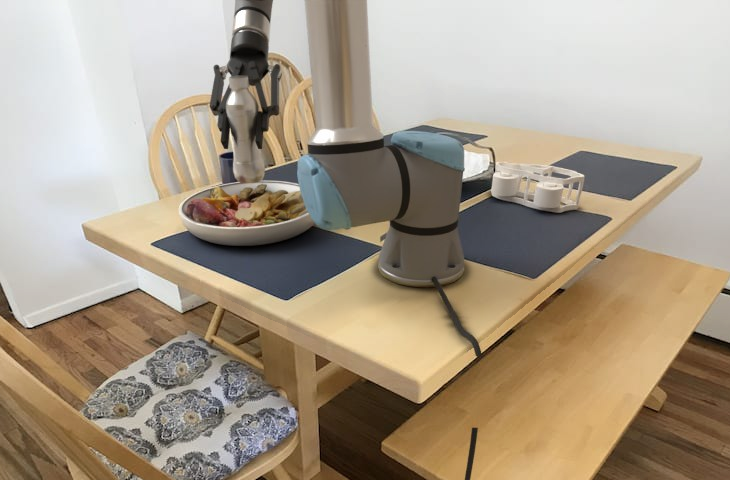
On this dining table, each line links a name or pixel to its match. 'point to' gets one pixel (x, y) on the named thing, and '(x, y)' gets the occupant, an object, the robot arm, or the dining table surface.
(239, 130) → the silver metal bottle
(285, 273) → the dining table surface
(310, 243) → the dining table surface
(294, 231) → the bowl
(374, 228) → the dining table surface
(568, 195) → the car outline toy
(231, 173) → the navy cup
